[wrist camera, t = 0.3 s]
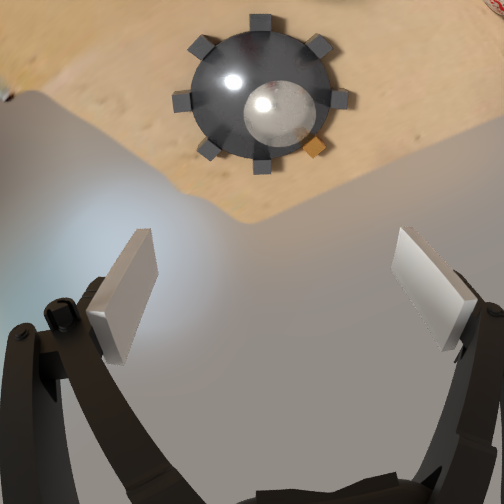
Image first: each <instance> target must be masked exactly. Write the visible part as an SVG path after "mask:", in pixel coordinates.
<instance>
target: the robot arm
mask: <svg viewBox="0 0 504 504" xmlns="http://www.w3.org/2000/svg"><path fill="white" fill-rule="evenodd" d="M391 271H392V273H393V274H394V276H395V277H396V278H397V280H398V282H399V283H400V285H401V286H402V288H403V289H404V291H405V292H406V294H407V296H408V297H409V299H410V300H411V302H412V303H413V305H414V307H415V308H416V310H417V311H418V313H419V315H420V316H421V318H422V319H423V321H424V323H425V325H426V326H427V328H428V330H429V331H430V333H431V334H432V336H433V338H434V339H435V341H436V343H437V345H438V347H439V348H440V350H441V352H442V351H447V350H453V349H455V347H456V345H457V343H458V341H459V339H460V340H461V341H462V343H463V346H462V348H461V350H460V352H459V354H458V356H457V357H456V359H455V361H454V363H456V362H457V365H456V369H455V372H454V376H453V379H452V383H451V387H450V390H449V393H448V396H447V399H446V402H445V405H444V409H443V411H442V414H441V417H440V420H439V422H438V425H437V428H436V431H435V434H434V436H433V438H432V441H431V443H430V446H429V448H428V450H427V453H426V455H425V457H424V460H423V462H422V464H421V466H420V468H419V470H418V472H417V474H416V475H415V477H414V478H413V479H412V481H410V480H404V479H398V478H397V474H396V472H393V473H388V474H384V475H380V476H375V477H371V478H366V479H363V480H361V481H359V482H356V483H354V484H352V485H350V486H347V487H345V488H342V489H340V490H337V491H335V492H331V493H325V492H315V491H306V490H298V489H285V490H284V489H283V490H265V491H264V490H263V491H256V497H255V498H251V499H247V500H244V501H241V502H239V503H237V504H483V502H484V499H485V496H486V493H487V490H488V486H489V483H490V480H491V476H492V473H493V469H494V465H495V461H496V457H497V448H496V447H493V446H492V445H491V444H492V439H493V434H494V430H495V425H496V419H497V414H498V408H499V402H500V408H501V422H502V481H501V504H504V310H503V309H502V308H501V307H500V306H499V305H497V304H495V303H491V302H484V300H483V299H482V298H481V297H480V295H479V294H478V293H477V292H476V291H475V290H474V288H472V286H471V285H470V284H469V283H467V280H466V279H465V278H464V277H463V276H462V275H461V274H460V273H458V272H457V271H455V270H452V269H451V267H450V266H449V265H448V264H447V263H446V262H445V261H444V260H443V259H442V258H441V257H440V255H439V254H438V253H437V252H436V251H435V250H434V249H433V248H432V247H431V246H430V245H429V244H428V243H427V242H426V241H425V240H424V239H423V238H422V237H421V236H420V234H418V232H417V231H416V230H415V229H414V228H412V227H400V232H399V237H398V241H397V246H396V250H395V255H394V259H393V264H392V268H391ZM157 277H158V269H157V263H156V258H155V252H154V246H153V240H152V233H151V229H137V230H136V231H135V233H134V234H133V236H132V237H131V239H130V240H129V242H128V243H127V245H126V246H125V248H124V249H123V251H122V252H121V254H120V255H119V257H118V258H117V260H116V262H115V263H114V265H113V266H112V268H111V269H110V271H109V273H108V274H107V276H106V277H98V278H96V279H95V280H94V281H93V282H91V283H90V284H89V286H88V288H87V289H86V292H84V294H83V295H82V298H81V299H80V300H79V302H78V303H77V305H76V304H75V302H74V301H73V300H72V299H70V298H59V299H56V300H54V301H52V302H51V303H49V304H48V305H47V307H46V308H45V310H44V317H45V319H46V321H47V323H48V325H49V327H50V330H46V331H40V332H37V331H36V329H35V327H34V326H33V325H32V324H31V323H22V324H20V325H17V326H16V327H14V328H13V329H12V331H11V332H10V333H9V336H8V341H7V347H6V353H5V361H4V368H3V378H2V388H1V399H0V400H1V401H0V475H1V486H2V497H3V504H79V500H78V496H77V492H76V488H75V483H74V479H73V474H72V469H71V464H70V458H69V453H68V447H67V440H66V434H65V426H64V418H63V409H62V398H61V386H60V379H66V378H69V381H70V383H71V386H72V388H73V390H74V393H75V395H76V397H77V400H78V402H79V404H80V406H81V408H82V411H83V413H84V415H85V417H86V419H87V421H88V423H89V425H90V427H91V429H92V431H93V433H94V435H95V437H96V439H97V441H98V443H99V445H100V446H101V448H102V450H103V452H104V454H105V456H106V457H107V459H108V461H109V463H110V464H111V466H112V468H113V469H114V471H115V473H116V474H117V476H118V477H119V479H120V481H121V482H122V484H123V486H124V487H125V489H126V494H127V496H128V498H129V499H130V501H131V502H132V504H206V503H205V502H204V501H203V500H202V499H201V497H200V496H199V495H198V494H197V493H196V492H195V491H194V490H193V488H192V487H191V486H190V485H189V484H188V482H187V481H186V480H185V479H184V478H183V477H182V475H181V474H180V473H179V472H178V471H177V470H176V469H175V468H174V467H173V466H172V465H171V464H170V463H169V461H168V460H167V459H166V457H165V456H164V455H163V453H162V452H161V451H160V449H159V448H158V447H157V445H156V444H155V443H154V441H153V440H152V439H151V437H150V436H149V434H148V433H147V432H146V430H145V429H144V427H143V426H142V424H141V423H140V421H139V420H138V418H137V417H136V415H135V414H134V412H133V411H132V409H131V407H130V406H129V404H128V403H127V401H126V400H125V398H124V396H123V395H122V393H121V392H120V390H119V388H118V387H117V385H116V383H115V382H114V380H113V378H112V376H111V375H110V373H109V371H108V369H107V368H106V366H105V364H104V362H103V360H102V359H101V358H102V355H104V357H105V360H106V362H107V364H114V365H123V366H124V365H125V362H126V359H127V356H128V353H129V351H130V348H131V345H132V342H133V339H134V337H135V334H136V331H137V328H138V326H139V323H140V320H141V317H142V315H143V312H144V310H145V307H146V304H147V302H148V299H149V297H150V294H151V292H152V289H153V286H154V284H155V282H156V279H157Z"/></svg>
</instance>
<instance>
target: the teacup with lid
mask: <svg viewBox="0 0 504 504" xmlns="http://www.w3.org/2000/svg"><path fill="white" fill-rule="evenodd" d="M484 1H485V3H486V4H487V5H488V7H489V8H490V9H492V10H493V11H494V12H496V13H497V14H500V15H503V16H504V0H484Z"/></svg>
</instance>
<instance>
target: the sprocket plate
mask: <svg viewBox="0 0 504 504" xmlns="http://www.w3.org/2000/svg"><path fill="white" fill-rule="evenodd" d="M249 22H250V31H248V32H243V33H239V34H236V35H233V36H231V37H229V38H227V39H225V40H223V41H222V42H220V43H219V44H217V45H216V46H215V44H214V43H213V42H212V41H210V40H209V39H208V38H206V37H205V36H204V35H200V36H199V37H198V38H197V40H196V41H195V42H194V43H193V44H192V45H191V46H190V47H189V48H188V49H187V50H188V51H189V52H190V53H192V54H193V55H194V56H196V57H197V58H198V59H200V60H202V59H203V60H202V61H201V63H200V64H199V66H198V67H197V70H196V72H195V74H194V77H193V80H192V84H191V90H184V91H175V92H174V93H173V94H172V101H173V109H174V113H178V112H187V111H191V110H192V111H193V115H194V118H195V120H196V122H197V124H198V126H199V127H200V129H201V130H202V132H203V133H204V134H205V135H206V138H205V139H204V140H203V141H202V142H201V143H200V144H199V145H198V148H197V152H199V153H200V154H201V155H203V156H204V157H205V158H207V159H208V160H209V161H212V160H213V159H214V158H215V157H216V155H217V154H218V153H219V152H220V151H221V150H222V149H223V150H225V151H227V152H229V153H231V154H234V155H236V156H240V157H244V158H250V159H253V174H254V175H259V174H271V158H276V157H280V156H283V155H286V154H289V153H291V152H293V151H295V150H297V149H299V148H300V147H302V148H303V149H304V150H305V151H306V152H307V153H308V154H309V155H310V156H311V157H312V158H314V157H315V156H317V155H318V154H319V153H320V152H321V151H323V150H324V149H325V148H326V147H325V145H324V143H323V142H322V141H321V140H320V139H319V138H318V137H317V136H316V133H317V132H318V131H319V130H320V128H321V126H322V125H323V123H324V121H325V119H326V117H327V114H328V111H329V107H330V108H335V109H347V103H348V93H349V92H348V91H347V90H345V89H344V88H331V87H330V82H329V78H328V75H327V73H326V70H325V68H324V66H323V64H322V63H321V61H320V60H319V59H321V58H322V57H323V56H325V55H326V54H327V53H328V52H329V51H331V50H332V49H333V48H332V47H331V45H330V44H329V43H328V42H327V41H326V40H325V39H324V38H323V37H322V36H321V35H320V34H315V35H314V36H312V37H311V38H310V39H309V40H308V41H306V42H305V43H304V44H303V43H301V42H300V41H298V40H296V39H294V38H292V37H290V36H287V35H284V34H281V33H278V32H273V31H271V14H249ZM214 46H215V47H214ZM213 47H214V48H213ZM212 48H213V49H212Z"/></svg>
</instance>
